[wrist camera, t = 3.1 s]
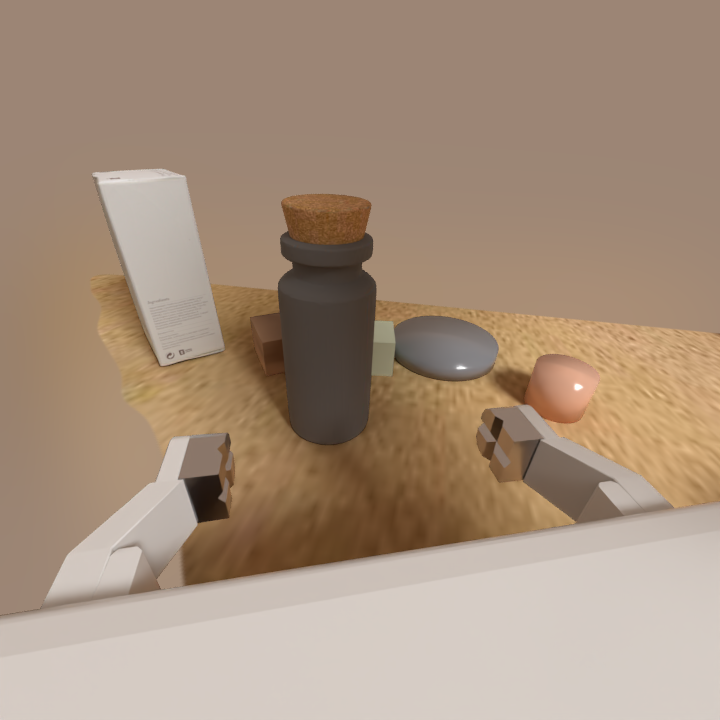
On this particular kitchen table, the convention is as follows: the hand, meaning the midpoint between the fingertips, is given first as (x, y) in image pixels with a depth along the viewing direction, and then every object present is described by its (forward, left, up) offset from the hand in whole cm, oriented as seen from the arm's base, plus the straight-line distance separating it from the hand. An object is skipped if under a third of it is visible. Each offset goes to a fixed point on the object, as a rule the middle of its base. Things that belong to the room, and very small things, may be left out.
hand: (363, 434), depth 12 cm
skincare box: (+13, -25, -10) cm, 30 cm away
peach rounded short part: (-18, -11, -10) cm, 24 cm away
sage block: (-4, -19, -10) cm, 22 cm away
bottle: (0, -12, -10) cm, 16 cm away
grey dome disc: (-12, -20, -10) cm, 26 cm away
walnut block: (+3, -21, -10) cm, 24 cm away
